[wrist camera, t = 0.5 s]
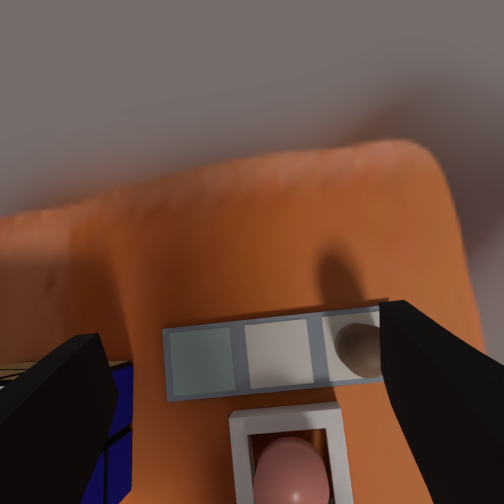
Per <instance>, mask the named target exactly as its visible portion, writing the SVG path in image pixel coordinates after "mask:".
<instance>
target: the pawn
mask: <svg viewBox="0 0 504 504" xmlns="http://www.w3.org/2000/svg"><path fill="white" fill-rule="evenodd" d="M335 351H336V354H337V356H338V358H339V359H340V360H341V361H342V363H343V364H344V365H345V366H346V367H347V368H348V369H349V370H350V371H352V372H353V373H354V374H356V375H357V376H359V377H362V378H367V379H373V378H378V377H380V376H382V372H381V366H380V328H379V327H377V326H373V325H368V324H362V323H352V324H349V325H346V326H345V327H343V328H342V329H341V330H340V331H339V333H338V334H337V336H336V339H335Z"/></svg>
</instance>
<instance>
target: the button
mask: <svg viewBox="0 0 504 504" xmlns="http://www.w3.org/2000/svg"><path fill="white" fill-rule="evenodd" d="M253 495H254V500H255V503H256V504H328V501H329V484H328V479H327V474H326V470H325V465H324V462H323V459H322V457H321V455H320V453H319V452H318V451H317V449H316V448H315V447H314V446H313V445H312V444H310V443H309V442H307V441H306V440H304V439H301V438H298V437H292V436H287V437H282V438H278V439H276V440H274V441H273V442H271V443H270V444H269V445H267V446H266V448H265V449H264V450H263V452H262V453H261V455H260V457H259V460H258V464H257V469H256V473H255V477H254V482H253Z"/></svg>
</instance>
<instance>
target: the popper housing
mask: <svg viewBox="0 0 504 504" xmlns="http://www.w3.org/2000/svg"><path fill="white" fill-rule="evenodd" d="M229 428H230V438H231V449H232V459H233V470H234V481H235V491H236V502H237V504H256V503H255V500H254V495H253V482H254V477H255V466H254V457H253V447H252V437H251V434H262V433H273V432H285V431H296V430H308V429H319V428H325V435H326V443H327V451H328V459H329V467H330V475H331V483H332V491H333V498H329V501H328V504H354V503H353V496H352V488H351V481H350V473H349V465H348V458H347V450H346V443H345V435H344V428H343V420H342V412H341V408H340V406H339V404H338V402H337V401H335V402H324V403H313V404H302V405H291V406H280V407H269V408H258V409H247V410H236V411H233V412H232V414H231V416H230V417H229Z"/></svg>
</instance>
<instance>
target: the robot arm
mask: <svg viewBox="0 0 504 504" xmlns="http://www.w3.org/2000/svg"><path fill="white" fill-rule="evenodd" d="M379 325H380V366H381V372H382V376H383V379H384V383H385V386H386V390H387V393H388V396H389V399H390V403H391V406H392V408H393V411H394V413H395V415H396V418H397V420H398V422H399V424H400V427H401V429H402V431H403V434H404V436H405V438H406V441H407V443H408V445H409V447H410V450H411V452H412V454H413V456H414V459H415V461H416V463H417V466H418V468H419V470H420V472H421V475H422V477H423V479H424V481H425V484H426V486H427V488H428V491H429V493H430V496H431V498H432V501H433V503H434V504H504V365H502V364H500V363H498V362H497V361H495V360H493V359H492V358H490V357H488V356H487V355H485V354H483V353H481V352H480V351H478V350H477V349H475V348H473V347H472V346H470V345H469V344H467V343H466V342H464V341H463V340H461V339H460V338H458V337H457V336H455V335H454V334H452V333H451V332H449V331H448V330H446V329H445V328H443V327H442V326H440V325H439V324H438V323H436V322H435V321H433V320H432V319H431V318H429V317H428V316H426V315H425V314H424V313H422V312H421V311H419V310H418V309H417V308H415V307H414V306H412V305H411V304H410V303H408V302H407V301H405V300H399V301H389V302H380V303H379ZM118 397H119V392H118V389H117V386H116V383H115V380H114V377H113V374H112V372H111V369H110V366H109V363H108V360H107V357H106V354H105V351H104V348H103V345H102V342H101V339H100V336H99V333H93V334H84V335H76V336H74V337H72V338H71V339H69V340H68V341H66V342H65V343H63V344H62V345H60V346H59V347H57V348H56V349H54V350H53V351H52V352H50V353H49V354H48V355H46V356H45V357H44V358H42V359H41V360H39V361H38V362H37V363H35V364H34V365H33V366H31V367H30V368H29V369H27V370H26V371H25V372H23V373H22V374H21V375H19V376H18V377H17V378H15V379H14V380H12V381H11V382H10V383H8V384H7V385H6V386H4V387H3V388H1V389H0V504H80V503H81V501H82V498H83V496H84V493H85V491H86V488H87V486H88V484H89V481H90V479H91V476H92V474H93V472H94V469H95V467H96V464H97V462H98V459H99V457H100V454H101V452H102V449H103V447H104V444H105V442H106V439H107V437H108V434H109V432H110V428H111V425H112V421H113V418H114V414H115V410H116V406H117V401H118Z"/></svg>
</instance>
